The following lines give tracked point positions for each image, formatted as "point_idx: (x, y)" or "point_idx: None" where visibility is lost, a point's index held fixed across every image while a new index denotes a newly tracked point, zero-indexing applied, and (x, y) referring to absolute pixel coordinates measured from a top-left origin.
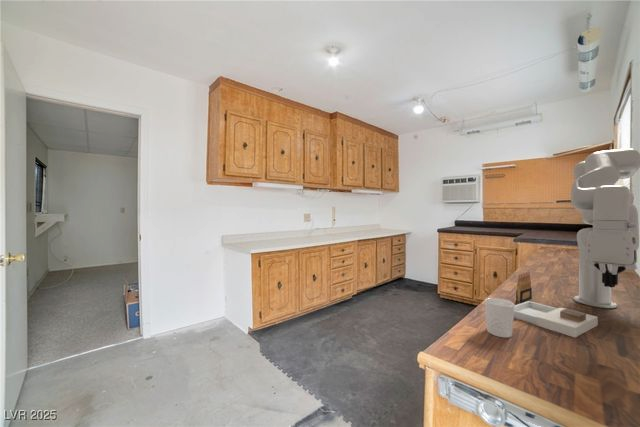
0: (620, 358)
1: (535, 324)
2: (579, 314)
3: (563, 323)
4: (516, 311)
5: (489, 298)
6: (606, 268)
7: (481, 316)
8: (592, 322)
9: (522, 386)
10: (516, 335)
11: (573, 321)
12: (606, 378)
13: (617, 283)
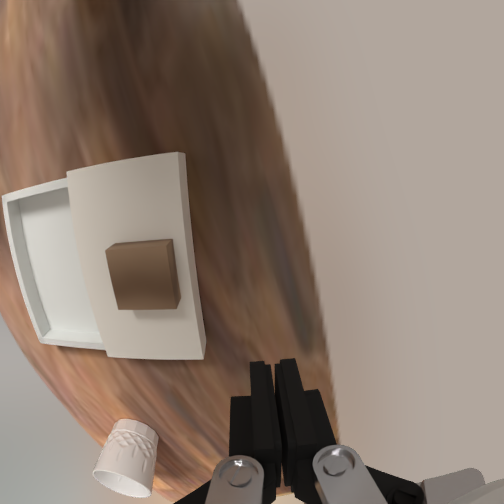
0: (309, 367)
1: None
2: (164, 287)
3: (168, 351)
4: (61, 344)
5: (95, 476)
6: (250, 502)
7: (57, 384)
8: (184, 208)
9: None
10: (153, 422)
11: None
12: None
13: (318, 395)
